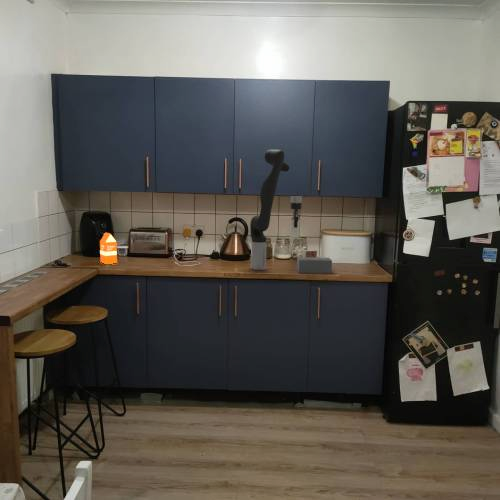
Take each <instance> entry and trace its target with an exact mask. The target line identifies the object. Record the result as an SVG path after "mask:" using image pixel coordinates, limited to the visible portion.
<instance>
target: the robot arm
mask: <svg viewBox="0 0 500 500" xmlns="http://www.w3.org/2000/svg"><path fill="white" fill-rule="evenodd" d="M264 160H265V162H266V164H267V165H270V166H272V169H271V171H270V173H269V174H268V175H267V176H266V178H265V179H263V181H262V184H261V187H260V192H259V201H260V213H259V214H258V215H254V216H253V217H251V219H250V224H249V227H250V229H249V230H250V231H249V232H250V238H251V253H250V254H251V256H250V257H251V259H250V260H251V261H250V269H251V270H254V271H255V270H256V271H262V270H266V269H267V237H266V235H265V234H264V232H265V231H267V230H268V229H269V226H270V223H271V213H272V209H273V203H274V199H275V196H276V191H277V185H278V181H279V177H280V174H281V172H282V171H285V172H286V171H288V170H289V166H288V165H287V164H286V163H285V162H286V161H285V152H284V150H282V149H275V148H274V149H272V148H271V149H268V150H266V152H265V153H264ZM302 205H303V198H302V195H301V196H291V195H290V209H291V210H293V211H292V218H294V228H297V222H298V218H300V217H299V216H300V212H299V210H302V207H303V206H302ZM295 219H297V220H295Z"/></svg>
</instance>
